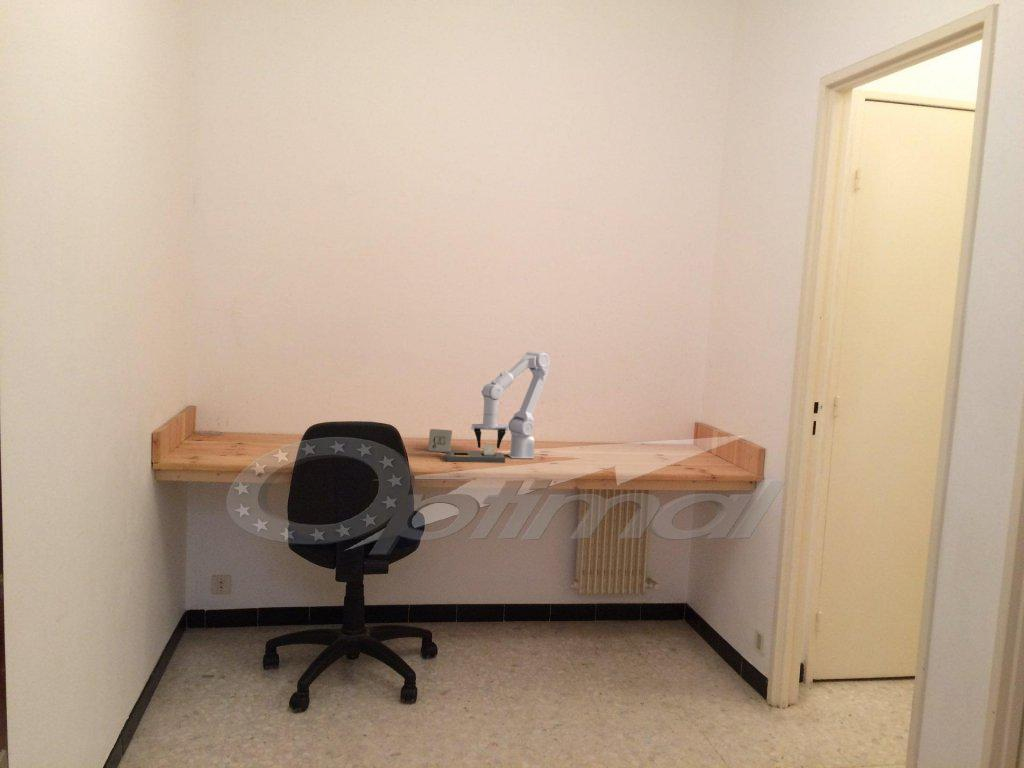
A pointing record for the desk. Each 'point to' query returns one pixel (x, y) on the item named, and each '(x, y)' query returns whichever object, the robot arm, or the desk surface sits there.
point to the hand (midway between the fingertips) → (488, 447)
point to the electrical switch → (440, 440)
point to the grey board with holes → (473, 457)
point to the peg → (488, 449)
